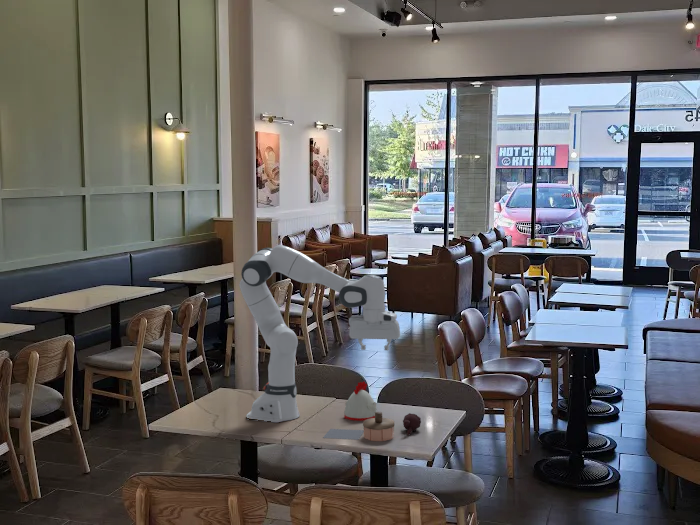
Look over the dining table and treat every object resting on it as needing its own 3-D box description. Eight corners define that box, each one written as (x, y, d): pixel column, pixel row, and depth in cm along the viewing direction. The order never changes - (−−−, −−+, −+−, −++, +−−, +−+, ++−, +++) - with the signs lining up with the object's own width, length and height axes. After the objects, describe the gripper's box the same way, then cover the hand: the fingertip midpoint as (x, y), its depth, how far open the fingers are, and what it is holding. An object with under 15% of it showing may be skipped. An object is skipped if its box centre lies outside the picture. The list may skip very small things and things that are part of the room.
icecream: (405, 408, 322) (395, 422, 308) (422, 405, 319) (413, 418, 305) (410, 424, 322) (400, 439, 309) (427, 421, 320) (418, 435, 306)
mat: (322, 439, 305) (322, 437, 305) (330, 430, 316) (330, 428, 316) (358, 441, 302) (358, 439, 301) (365, 431, 313) (365, 430, 313)
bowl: (362, 441, 301) (361, 428, 300) (368, 433, 311) (367, 420, 311) (390, 443, 298) (390, 429, 298) (395, 434, 309) (395, 421, 308)
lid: (359, 428, 300) (359, 416, 300) (366, 420, 312) (366, 408, 311) (391, 430, 297) (390, 417, 297) (397, 421, 309) (396, 409, 308)
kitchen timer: (383, 416, 335) (383, 381, 334) (364, 424, 324) (363, 387, 323) (357, 411, 344) (356, 377, 342) (337, 418, 333) (336, 383, 331)
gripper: (346, 316, 316) (347, 350, 317) (397, 317, 311) (398, 352, 312) (350, 314, 322) (351, 347, 323) (400, 314, 317) (401, 348, 318)
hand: (374, 349), depth 318 cm, fingers open, 8 cm apart
